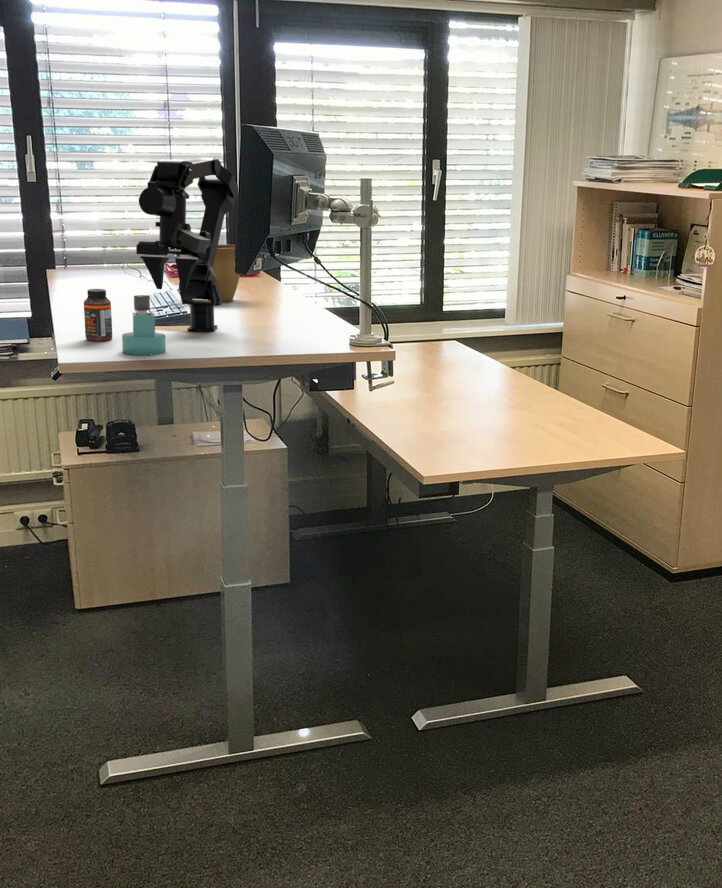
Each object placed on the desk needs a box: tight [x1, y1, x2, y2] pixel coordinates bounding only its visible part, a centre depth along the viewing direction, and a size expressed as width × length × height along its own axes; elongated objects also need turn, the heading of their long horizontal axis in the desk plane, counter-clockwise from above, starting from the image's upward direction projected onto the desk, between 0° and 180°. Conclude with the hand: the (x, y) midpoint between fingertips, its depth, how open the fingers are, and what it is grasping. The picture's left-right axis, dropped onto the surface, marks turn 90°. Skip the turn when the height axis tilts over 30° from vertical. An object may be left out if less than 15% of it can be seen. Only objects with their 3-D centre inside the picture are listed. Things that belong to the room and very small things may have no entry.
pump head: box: [133, 294, 151, 315], centre depth 195 cm, size 3×3×8 cm
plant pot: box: [210, 244, 241, 303], centre depth 273 cm, size 15×15×16 cm
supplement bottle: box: [83, 288, 113, 342], centre depth 208 cm, size 6×6×11 cm
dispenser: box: [121, 312, 167, 356], centre depth 196 cm, size 9×9×8 cm
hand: (171, 289), depth 207 cm, fingers open, 9 cm apart
